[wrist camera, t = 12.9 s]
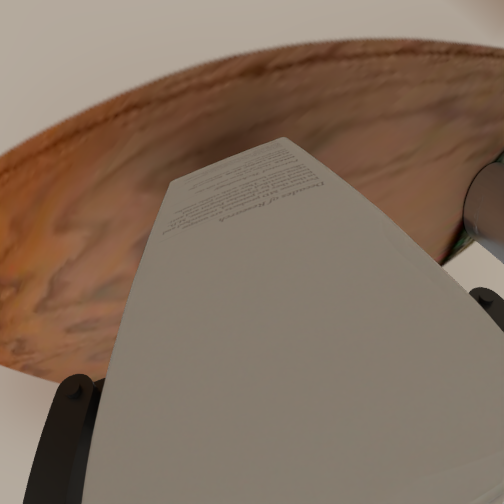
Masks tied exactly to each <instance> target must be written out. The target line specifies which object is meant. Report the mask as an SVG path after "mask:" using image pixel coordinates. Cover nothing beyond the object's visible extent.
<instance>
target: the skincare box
mask: <svg viewBox="0 0 504 504" xmlns="http://www.w3.org/2000/svg"><path fill="white" fill-rule="evenodd" d="M82 504H504V332H503V331H502V330H501V329H500V328H499V326H498V325H497V324H496V323H495V322H494V321H493V319H492V318H491V317H490V316H489V315H488V314H487V312H486V311H485V310H484V309H483V308H482V307H481V306H480V305H479V304H478V303H477V302H476V300H475V299H474V298H473V297H472V296H471V295H470V294H469V293H467V291H466V290H465V289H463V287H462V286H460V285H459V284H458V283H457V282H456V281H455V280H454V279H453V278H452V277H451V276H450V275H449V274H448V273H447V272H446V271H445V270H444V269H443V268H442V267H441V266H440V265H439V264H438V263H437V262H436V261H434V260H433V259H432V258H431V257H430V256H429V255H428V254H427V253H426V252H425V251H424V250H423V249H422V248H421V247H420V246H419V245H418V244H417V243H416V242H414V241H413V240H412V239H411V238H410V237H409V236H408V235H407V234H406V233H405V232H404V231H403V230H402V229H401V228H400V227H399V226H397V225H396V224H395V223H394V222H393V221H392V220H391V219H390V218H389V217H388V216H387V215H386V214H384V213H383V212H382V211H381V210H380V209H379V208H377V207H376V206H375V205H374V204H372V203H371V202H370V201H369V200H368V199H366V198H365V197H364V196H363V195H362V194H360V193H359V192H358V191H357V190H356V189H354V188H353V187H352V186H351V185H349V184H348V183H347V182H346V181H344V180H343V179H342V178H340V177H339V176H338V175H337V174H335V173H334V172H333V171H331V170H330V169H329V168H327V167H326V166H325V165H324V164H322V163H321V162H320V161H318V160H317V159H316V158H314V157H313V156H311V155H310V154H309V153H307V152H306V151H305V150H303V149H302V148H300V147H299V146H298V145H296V144H295V143H293V142H292V141H290V140H289V139H288V138H286V137H281V138H278V139H276V140H273V141H270V142H268V143H265V144H262V145H260V146H257V147H254V148H252V149H249V150H246V151H244V152H241V153H239V154H236V155H234V156H231V157H229V158H226V159H223V160H221V161H218V162H216V163H214V164H211V165H209V166H206V167H204V168H201V169H199V170H197V171H194V172H192V173H190V174H187V175H185V176H182V177H180V178H178V179H175V180H173V181H171V182H170V184H169V187H168V190H167V192H166V194H165V197H164V199H163V202H162V204H161V207H160V210H159V212H158V215H157V217H156V220H155V222H154V225H153V228H152V231H151V233H150V236H149V239H148V241H147V244H146V247H145V250H144V252H143V255H142V258H141V261H140V264H139V267H138V270H137V272H136V275H135V278H134V281H133V284H132V287H131V290H130V293H129V297H128V300H127V303H126V307H125V310H124V313H123V317H122V320H121V324H120V328H119V331H118V335H117V339H116V342H115V345H114V348H113V352H112V356H111V359H110V363H109V367H108V371H107V375H106V379H105V383H104V387H103V391H102V395H101V399H100V403H99V408H98V412H97V417H96V421H95V426H94V431H93V436H92V441H91V446H90V452H89V457H88V463H87V469H86V476H85V482H84V489H83V497H82Z"/></svg>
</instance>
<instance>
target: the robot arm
mask: <svg viewBox="0 0 504 504" xmlns="http://www.w3.org/2000/svg"><path fill="white" fill-rule="evenodd" d="M463 216H464V225H465V229H466V231H467V233H468V235H469V236H470V237H472V238H473V239H474V240H475V241H477V242H478V243H479V244H481V245H482V246H483V247H484V248H486V249H487V250H488V251H489V252H490V253H492V254H493V255H494V256H495V257H496V258H497V259H499V260H500V261H501V262H502V263H503V264H504V164H502V163H500V162H496V163H492V164H489V165H488V166H486V167H485V168H483V170H482V171H481V172H480V173H479V174H478V175H477V177H476V178H475V180H474V181H473V183H472V185H471V187H470V189H469V192H468V195H467V198H466V202H465V206H464V215H463ZM469 294H470V295H471V296H472V297H473V298H474V299H475V300H476V302H477V303H478V304H479V305H480V306H481V307H482V308H483V309H484V310H485V311H486V312H487V314H488V315H489V316H490V317H491V318H492V319H493V321H494V322H495V323H496V324H497V325H498V326H499V328H500V329H501V330H502V331H503V332H504V300H503V299H502V298H501V297H500V296H499V295H498V294H497V293H495V292H494V291H492V290H490V289H487V288H483V287H478V288H474V289H472V290H471V291H470V292H469ZM105 379H106V378H103V379H101V380H98V381H95V382H93V381H92V380H91V379H90V378H89V377H88V376H87V375H84V374H75V375H72V376H69V377H68V378H66V379H65V380H64V381H62V383H61V384H60V385H59V387H58V389H57V391H56V394H55V397H54V399H53V402H52V405H51V408H50V410H49V413H48V416H47V419H46V422H45V425H44V428H43V431H42V434H41V437H40V441H39V444H38V447H37V451H36V454H35V457H34V461H33V465H32V468H31V472H30V476H29V479H28V483H27V488H26V492H25V496H24V500H23V504H82V497H83V489H84V482H85V476H86V469H87V463H88V457H89V452H90V446H91V441H92V436H93V431H94V426H95V421H96V417H97V412H98V408H99V403H100V399H101V395H102V391H103V387H104V383H105Z"/></svg>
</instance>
